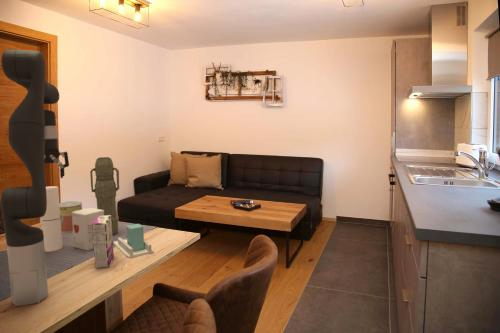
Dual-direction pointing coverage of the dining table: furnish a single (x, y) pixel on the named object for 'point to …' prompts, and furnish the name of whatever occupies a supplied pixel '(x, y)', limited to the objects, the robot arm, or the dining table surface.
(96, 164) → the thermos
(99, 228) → the candy bar box
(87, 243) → the supplement box
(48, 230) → the cylindrical container
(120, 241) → the chute
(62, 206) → the canned food
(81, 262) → the dining table surface
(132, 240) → the block
